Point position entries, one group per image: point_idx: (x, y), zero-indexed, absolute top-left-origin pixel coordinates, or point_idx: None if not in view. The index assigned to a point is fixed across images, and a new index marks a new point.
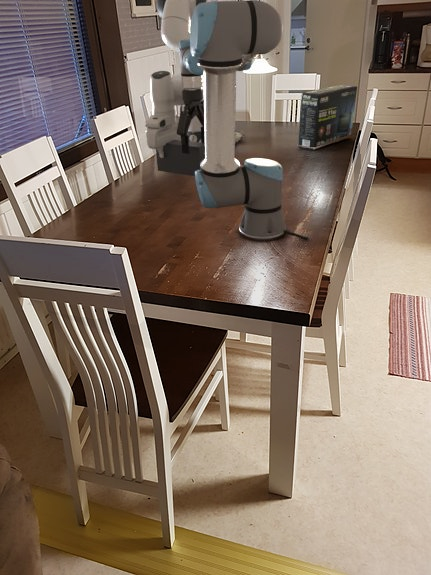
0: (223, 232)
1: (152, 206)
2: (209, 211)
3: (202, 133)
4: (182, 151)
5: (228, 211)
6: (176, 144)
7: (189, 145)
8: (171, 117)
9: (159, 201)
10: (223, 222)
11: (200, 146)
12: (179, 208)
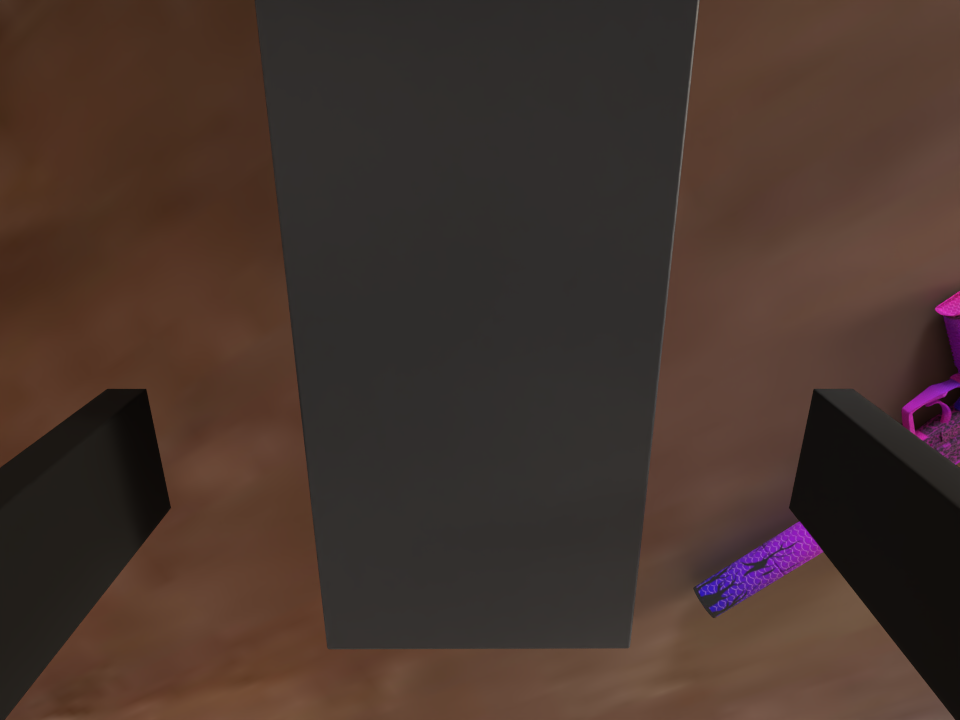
0: (20, 702)
1: (17, 57)
2: (214, 513)
3: (954, 559)
4: (91, 408)
5: (281, 605)
6: (275, 77)
7: (348, 431)
8: None
9: (147, 38)
10: (125, 650)
11: (379, 646)
12: (131, 303)
